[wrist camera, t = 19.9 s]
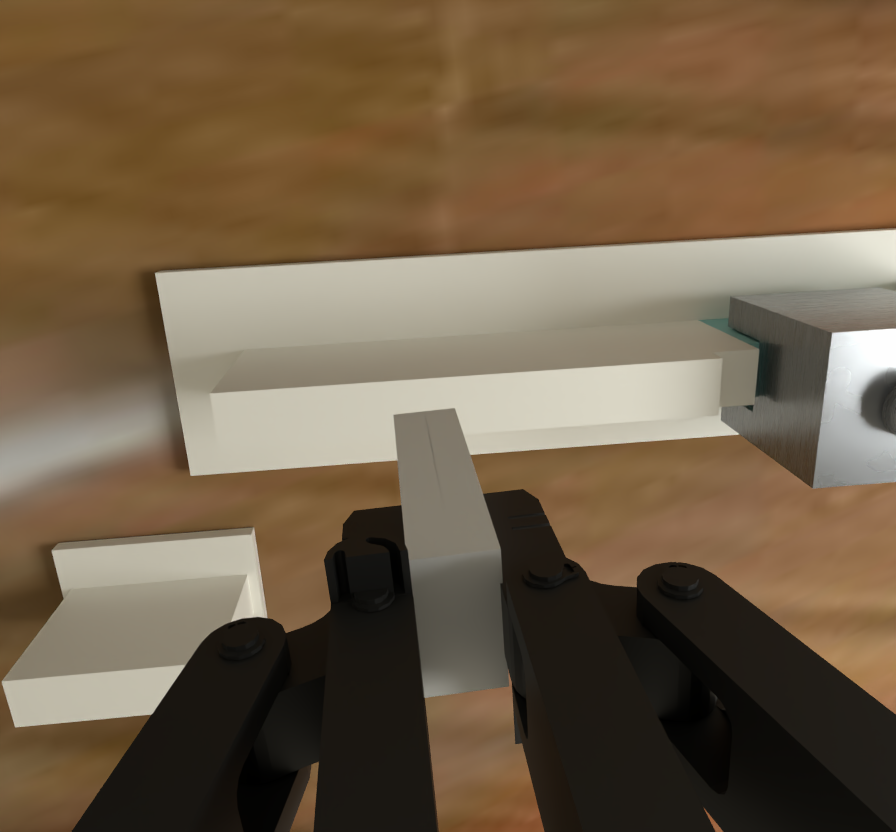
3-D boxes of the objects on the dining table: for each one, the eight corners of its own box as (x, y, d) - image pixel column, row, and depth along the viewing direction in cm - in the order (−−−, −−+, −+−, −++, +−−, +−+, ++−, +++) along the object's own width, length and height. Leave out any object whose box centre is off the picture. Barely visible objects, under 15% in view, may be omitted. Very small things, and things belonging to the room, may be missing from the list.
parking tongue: (58, 543, 37) (-25, 636, 30) (253, 527, 38) (221, 615, 31) (86, 656, 40) (16, 770, 32) (270, 639, 40) (244, 747, 33)
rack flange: (160, 270, 34) (71, 309, 24) (922, 226, 36) (1114, 245, 26) (194, 469, 37) (128, 571, 27) (892, 417, 39) (1054, 495, 30)
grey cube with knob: (730, 296, 33) (853, 340, 24) (877, 286, 34) (1049, 326, 25) (720, 420, 35) (831, 502, 26) (859, 410, 35) (1013, 487, 27)
